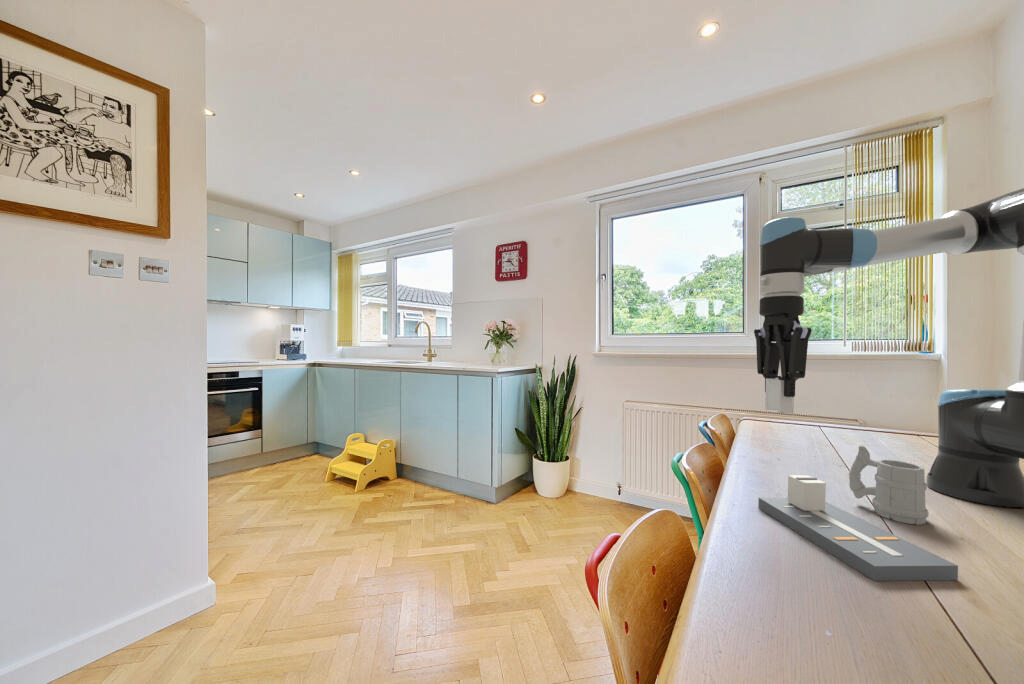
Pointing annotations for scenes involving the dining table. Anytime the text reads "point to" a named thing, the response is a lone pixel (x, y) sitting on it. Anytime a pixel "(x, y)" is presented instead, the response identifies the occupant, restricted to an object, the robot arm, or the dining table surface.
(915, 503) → the mug
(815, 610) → the dining table surface
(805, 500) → the fader tab
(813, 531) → the console
